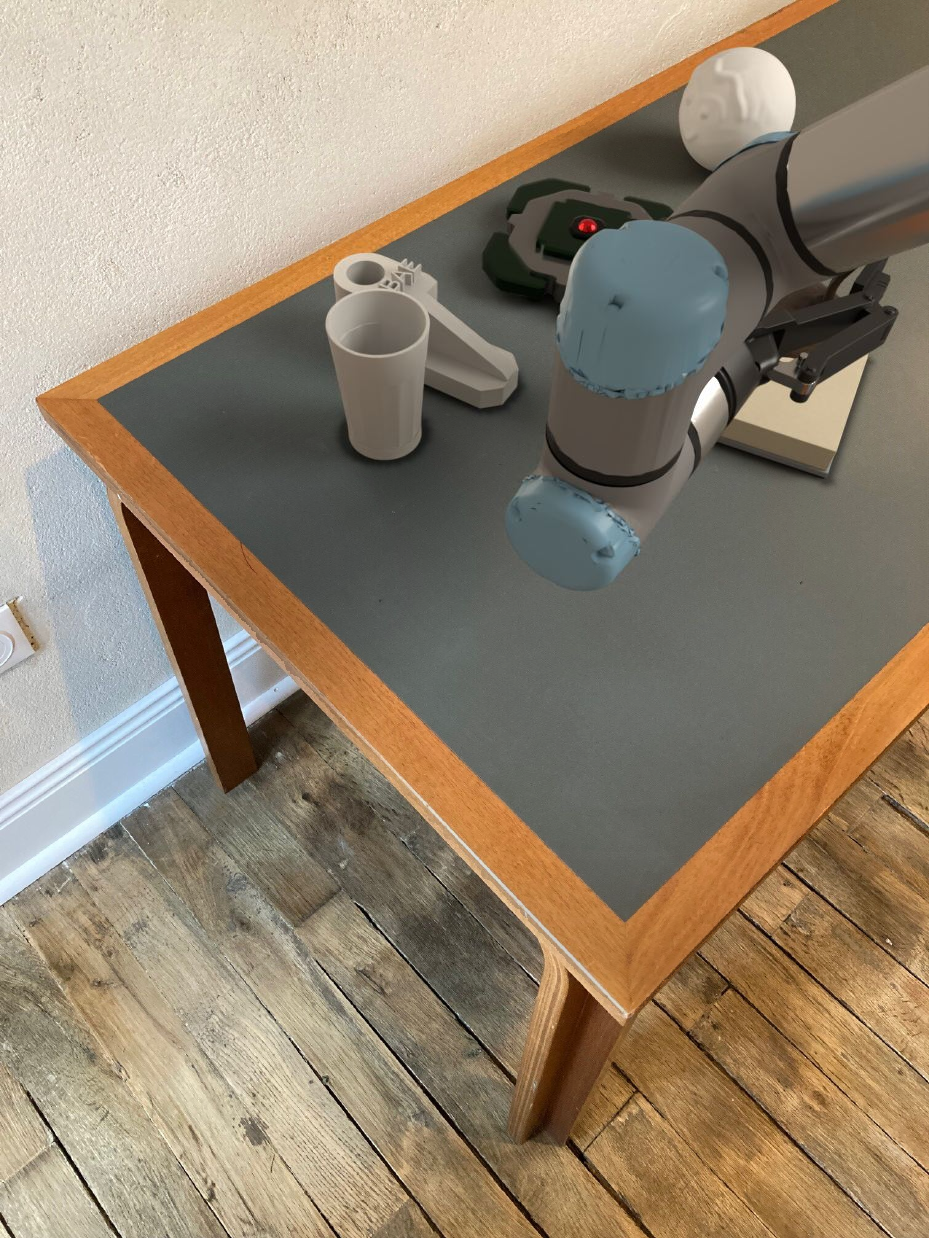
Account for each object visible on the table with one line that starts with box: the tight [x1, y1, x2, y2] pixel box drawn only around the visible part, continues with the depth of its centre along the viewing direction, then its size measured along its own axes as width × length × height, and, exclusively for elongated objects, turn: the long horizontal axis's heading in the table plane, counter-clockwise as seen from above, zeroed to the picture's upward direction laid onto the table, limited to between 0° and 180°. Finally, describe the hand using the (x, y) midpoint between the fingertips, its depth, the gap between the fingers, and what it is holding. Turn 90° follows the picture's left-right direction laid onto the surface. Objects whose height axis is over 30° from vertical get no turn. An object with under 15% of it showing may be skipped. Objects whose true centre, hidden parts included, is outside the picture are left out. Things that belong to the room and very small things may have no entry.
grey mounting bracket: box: [332, 252, 519, 409], centre depth 84 cm, size 6×18×8 cm, turn 59°
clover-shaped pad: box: [481, 177, 675, 304], centre depth 94 cm, size 18×18×5 cm
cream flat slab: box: [716, 353, 870, 479], centre depth 85 cm, size 18×16×3 cm
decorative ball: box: [678, 46, 797, 172], centre depth 100 cm, size 12×12×12 cm
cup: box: [324, 288, 430, 461], centre depth 77 cm, size 8×8×12 cm
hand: (812, 225), depth 70 cm, fingers closed on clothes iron, 11 cm apart
